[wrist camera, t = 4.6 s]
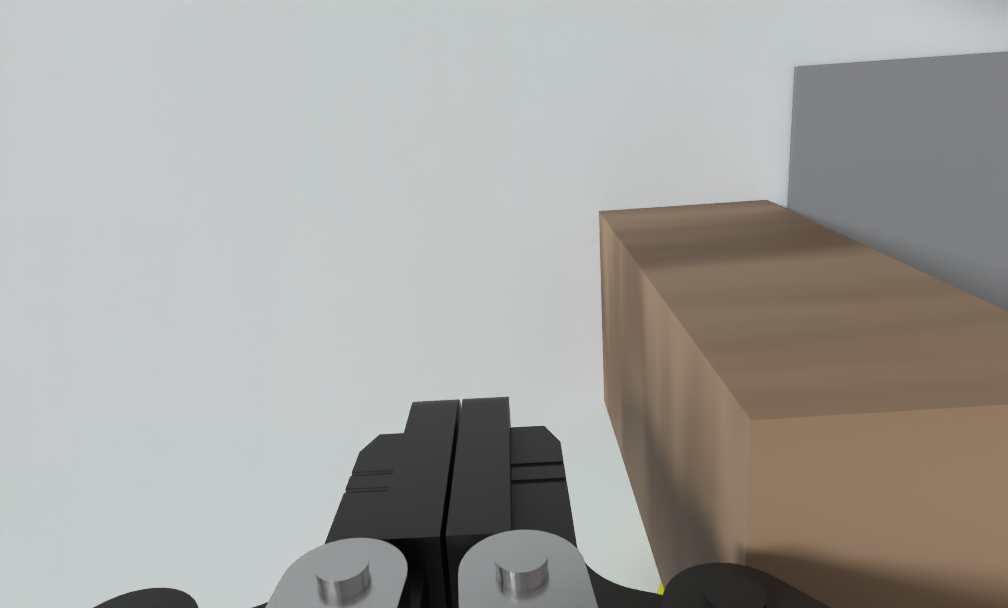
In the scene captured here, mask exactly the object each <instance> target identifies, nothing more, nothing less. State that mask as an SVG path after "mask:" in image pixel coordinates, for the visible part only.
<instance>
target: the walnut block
mask: <svg viewBox="0 0 1008 608" xmlns="http://www.w3.org/2000/svg"><path fill="white" fill-rule="evenodd" d="M599 223H600V259H601V295H602V331H603V367H604V401H605V404H606V407H607V410H608V414H609V417H610V420H611V423H612V426H613V429H614V433H615V436H616V439H617V442H618V445H619V448H620V452H621V455H622V458H623V461H624V464H625V467H626V471H627V474H628V477H629V480H630V483H631V486H632V490H633V493H634V496H635V499H636V502H637V505H638V509H639V512H640V515H641V518H642V521H643V524H644V528H645V531H646V534H647V537H648V540H649V543H650V547H651V550H652V553H653V556H654V559H655V562H656V566H657V569H658V572H659V575H660V578H661V581H662V585H663V588H664V590H665V587H666V585H667V584H668V583H669V581H670V580H671V579H672V578H673V577H674V576H675V575H677V574H678V573H680V572H681V571H683V570H685V569H687V568H690V567H693V566H696V565H700V564H705V563H716V562H717V563H733V564H740V565H744V566H749V567H752V568H755V569H758V570H761V571H764V572H766V573H768V574H770V575H772V576H774V577H776V578H778V579H780V580H781V581H783V582H785V583H787V584H789V585H791V586H792V587H794V588H796V589H798V590H800V591H802V592H803V593H805V594H807V595H809V596H811V597H812V598H814V599H816V600H818V601H820V602H822V603H823V604H825V605H827V606H829V607H831V608H1008V311H1006V310H1004V309H1002V308H1000V307H998V306H995V305H993V304H991V303H989V302H987V301H985V300H982V299H980V298H978V297H976V296H974V295H972V294H969V293H967V292H965V291H963V290H961V289H959V288H956V287H954V286H952V285H950V284H948V283H945V282H943V281H941V280H939V279H937V278H935V277H932V276H930V275H928V274H926V273H924V272H922V271H919V270H917V269H915V268H913V267H911V266H909V265H906V264H904V263H902V262H900V261H898V260H896V259H893V258H891V257H889V256H887V255H885V254H882V253H880V252H878V251H876V250H874V249H872V248H869V247H867V246H865V245H863V244H861V243H859V242H856V241H854V240H852V239H850V238H848V237H846V236H843V235H841V234H839V233H837V232H835V231H833V230H830V229H828V228H826V227H824V226H822V225H819V224H817V223H815V222H813V221H811V220H809V219H806V218H804V217H802V216H800V215H798V214H796V213H793V212H791V211H789V210H787V209H785V208H783V207H780V206H778V205H776V204H774V203H772V202H770V201H767V200H759V201H745V202H730V203H715V204H700V205H685V206H670V207H656V208H641V209H626V210H611V211H599Z"/></svg>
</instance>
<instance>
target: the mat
mask: <svg viewBox="0 0 1008 608" xmlns="http://www.w3.org/2000/svg"><path fill="white" fill-rule="evenodd" d="M787 210H789V211H791V212H793V213H796V214H798V215H800V216H802V217H804V218H806V219H809V220H811V221H813V222H815V223H817V224H819V225H822V226H824V227H826V228H828V229H830V230H833V231H835V232H837V233H839V234H841V235H843V236H846V237H848V238H850V239H852V240H854V241H856V242H859V243H861V244H863V245H865V246H867V247H869V248H872V249H874V250H876V251H878V252H880V253H882V254H885V255H887V256H889V257H891V258H893V259H896V260H898V261H900V262H902V263H904V264H906V265H909V266H911V267H913V268H915V269H917V270H919V271H922V272H924V273H926V274H928V275H930V276H932V277H935V278H937V279H939V280H941V281H943V282H945V283H948V284H950V285H952V286H954V287H956V288H959V289H961V290H963V291H965V292H967V293H969V294H972V295H974V296H976V297H978V298H980V299H982V300H985V301H987V302H989V303H991V304H993V305H995V306H998V307H1000V308H1002V309H1004V310H1006V311H1008V52H995V53H981V54H967V55H953V56H939V57H925V58H911V59H897V60H882V61H868V62H854V63H840V64H826V65H812V66H798V67H795V71H794V90H793V109H792V128H791V148H790V167H789V186H788V205H787Z"/></svg>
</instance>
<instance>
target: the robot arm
mask: <svg viewBox="0 0 1008 608" xmlns="http://www.w3.org/2000/svg"><path fill="white" fill-rule="evenodd" d="M94 608H198V605H197V603H196V601H195V600H194V599H193V598H192V597H191V596H190V595H189V594H187V593H185V592H183V591H180V590H176V589H171V588H150V589H143V590H138V591H134V592H130V593H127V594H123V595H120V596H117V597H115V598H113V599H110V600H108V601H106V602H104V603H102V604H100V605H98V606H96V607H94ZM253 608H831V607H829V606H827V605H825V604H823V603H822V602H820V601H818V600H816V599H814V598H812V597H811V596H809V595H807V594H805V593H803V592H802V591H800V590H798V589H796V588H794V587H792V586H791V585H789V584H787V583H785V582H783V581H781V580H780V579H778V578H776V577H774V576H772V575H770V574H768V573H766V572H764V571H761V570H758V569H755V568H752V567H749V566H744V565H740V564H733V563H717V562H716V563H705V564H700V565H696V566H693V567H690V568H687V569H685V570H683V571H681V572H680V573H678V574H677V575H675V576H674V577H673V578H672V579H671V580H670V581H669V583H668V584H667V585H666V587H665V590H664V592H663V595H661V594H656V593H650V592H645V591H640V590H635V589H631V588H627V587H624V586H621V585H618V584H615V583H613V582H611V581H609V580H607V579H605V578H603V577H601V576H600V575H598V574H597V573H595V572H594V571H593V570H592V569H591V568H590V567H589V566H588V565H587V564H586V563H585V561H584V559H583V556H582V555H581V553H580V552H579V550H578V548H577V544H576V538H575V532H574V525H573V519H572V513H571V506H570V500H569V494H568V487H567V482H566V475H565V469H564V464H563V456H562V450H561V443H560V441H559V440H558V439H557V438H556V437H555V436H554V435H553V434H552V433H551V432H550V431H549V430H548V429H547V428H546V427H545V426H532V427H513V428H511V424H510V408H509V397H495V398H476V399H463V401H462V408H461V404H460V400H441V401H422V402H413V403H412V406H411V409H410V413H409V417H408V420H407V424H406V427H405V431H404V433H400V434H380V435H379V436H377V437H376V438H375V439H374V440H373V441H372V442H371V443H369V444H368V445H367V446H366V447H365V448H364V449H363V450H362V451H360V453H359V455H358V458H357V460H356V463H355V466H354V468H353V471H352V476H350V479H349V481H348V484H347V487H346V493H344V495H343V497H342V500H341V502H340V505H339V508H338V510H337V513H336V515H335V518H334V521H333V523H332V526H331V529H330V531H329V534H328V536H327V539H326V542H325V544H324V545H322V546H319V547H317V548H315V549H313V550H311V551H309V552H308V553H306V554H304V555H303V556H301V557H300V558H299V559H298V560H296V561H295V562H294V563H293V564H292V565H291V566H290V567H289V568H288V569H287V570H286V572H285V573H284V575H283V576H282V578H281V580H280V582H279V583H278V585H277V587H276V589H275V591H274V593H273V594H272V596H271V598H270V600H269V602H267V603H265V604H262V605H259V606H256V607H253Z"/></svg>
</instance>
